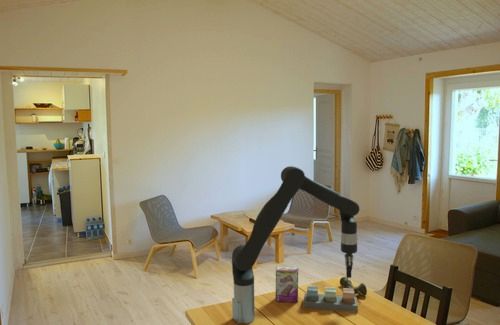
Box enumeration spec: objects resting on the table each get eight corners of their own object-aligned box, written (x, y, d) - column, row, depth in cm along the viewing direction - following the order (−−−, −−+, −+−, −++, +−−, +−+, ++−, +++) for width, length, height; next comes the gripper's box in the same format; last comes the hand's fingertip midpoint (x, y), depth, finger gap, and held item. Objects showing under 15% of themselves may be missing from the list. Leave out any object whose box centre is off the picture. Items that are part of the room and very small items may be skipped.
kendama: (351, 285, 218) (371, 299, 199) (335, 287, 216) (353, 302, 197) (351, 274, 218) (371, 288, 199) (335, 276, 216) (353, 290, 196)
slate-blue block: (317, 300, 192) (317, 290, 191) (307, 300, 193) (307, 290, 192) (317, 296, 197) (317, 286, 196) (307, 295, 198) (307, 285, 197)
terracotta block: (354, 303, 189) (354, 293, 188) (343, 302, 190) (343, 292, 189) (353, 298, 194) (353, 288, 193) (342, 297, 195) (342, 288, 194)
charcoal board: (357, 312, 186) (357, 305, 186) (303, 308, 191) (303, 302, 191) (356, 302, 196) (356, 296, 196) (304, 299, 201) (304, 293, 201)
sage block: (335, 302, 190) (335, 291, 190) (324, 301, 191) (325, 291, 191) (335, 297, 195) (335, 287, 195) (325, 296, 196) (325, 286, 196)
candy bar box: (275, 302, 198) (275, 270, 196) (275, 297, 203) (275, 266, 201) (298, 302, 197) (298, 270, 195) (298, 298, 202) (298, 266, 200)
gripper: (358, 246, 181) (358, 283, 183) (356, 237, 194) (355, 272, 196) (341, 245, 183) (341, 282, 185) (340, 237, 196) (340, 271, 198)
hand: (348, 277), depth 191 cm, fingers closed
